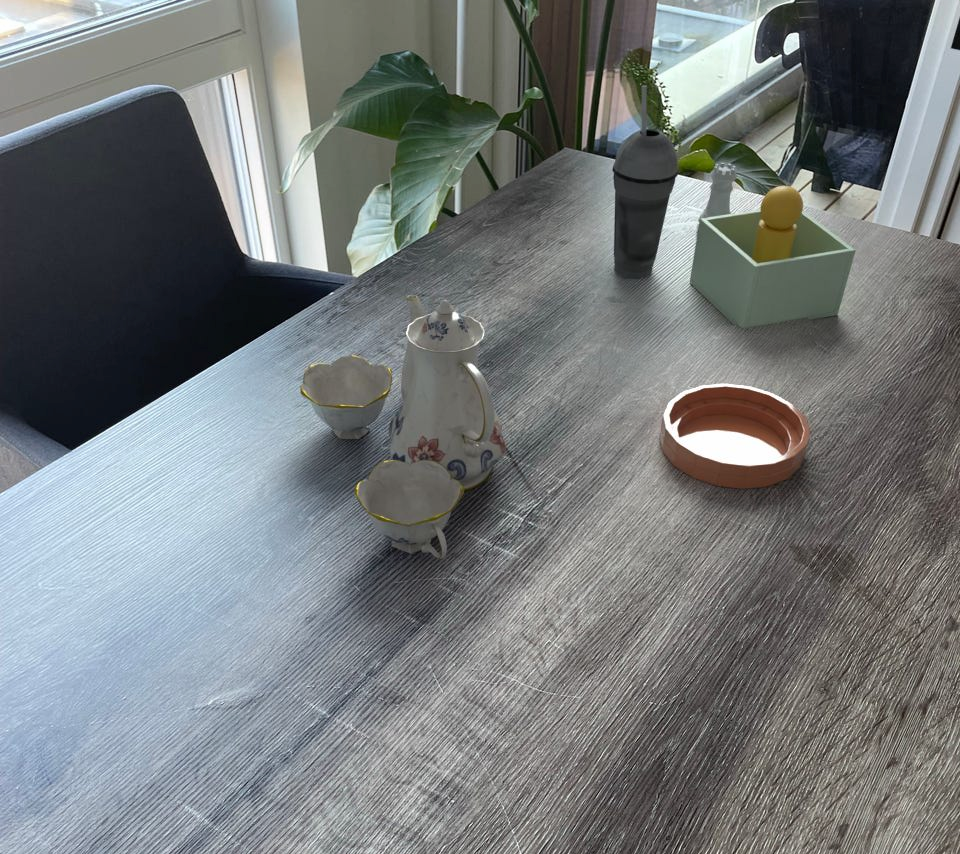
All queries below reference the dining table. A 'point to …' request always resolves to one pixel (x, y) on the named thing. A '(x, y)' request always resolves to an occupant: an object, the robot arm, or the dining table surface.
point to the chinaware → (417, 424)
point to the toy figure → (777, 224)
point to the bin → (769, 271)
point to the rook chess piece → (720, 191)
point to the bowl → (734, 435)
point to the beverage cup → (641, 197)
